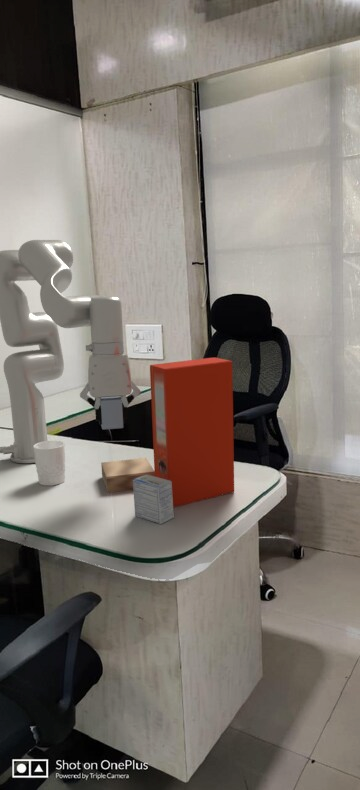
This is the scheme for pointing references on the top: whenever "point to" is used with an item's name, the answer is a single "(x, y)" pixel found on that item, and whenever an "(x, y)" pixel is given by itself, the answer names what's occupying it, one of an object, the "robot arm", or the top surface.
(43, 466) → the white cup
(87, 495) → the top surface
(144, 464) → the pedestal
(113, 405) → the block
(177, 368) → the file binder
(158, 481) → the medicine box
